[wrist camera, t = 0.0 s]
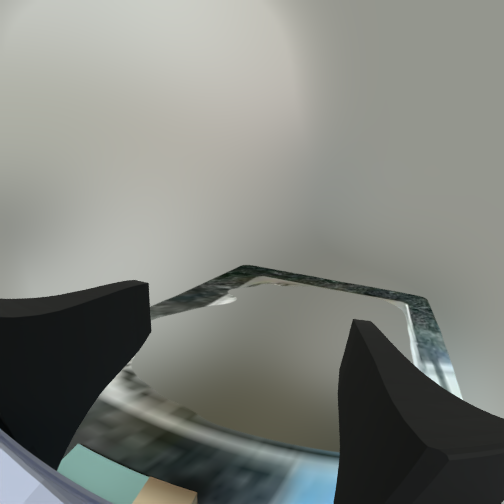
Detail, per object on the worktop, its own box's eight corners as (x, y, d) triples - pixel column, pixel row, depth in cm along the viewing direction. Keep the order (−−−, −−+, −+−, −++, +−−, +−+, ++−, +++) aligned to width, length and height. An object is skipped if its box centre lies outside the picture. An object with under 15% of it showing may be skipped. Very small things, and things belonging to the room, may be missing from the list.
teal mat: (121, 533, 15) (120, 530, 15) (41, 485, 17) (39, 482, 17) (154, 482, 22) (154, 479, 22) (79, 447, 24) (78, 443, 24)
